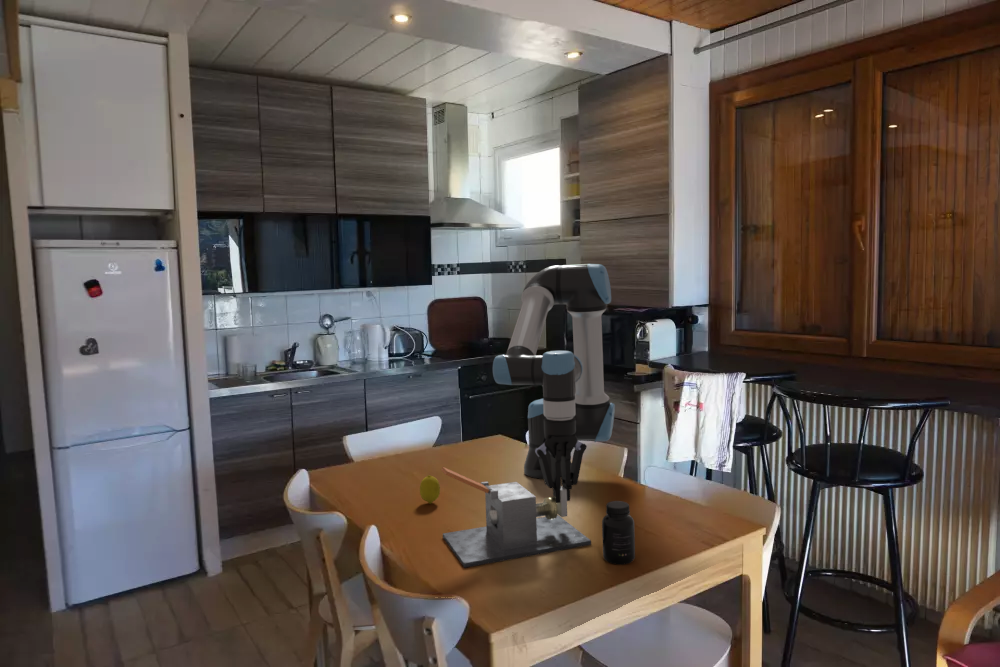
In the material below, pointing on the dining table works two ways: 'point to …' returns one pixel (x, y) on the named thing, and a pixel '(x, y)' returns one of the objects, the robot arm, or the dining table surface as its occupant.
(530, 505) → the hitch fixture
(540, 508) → the lynch pin
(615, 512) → the supplement bottle
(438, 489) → the lemon
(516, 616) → the dining table surface
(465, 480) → the tan flat bar
